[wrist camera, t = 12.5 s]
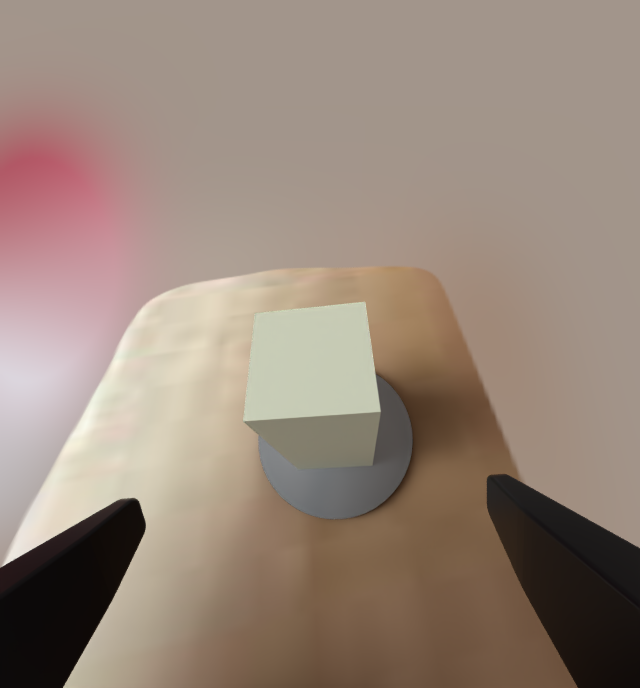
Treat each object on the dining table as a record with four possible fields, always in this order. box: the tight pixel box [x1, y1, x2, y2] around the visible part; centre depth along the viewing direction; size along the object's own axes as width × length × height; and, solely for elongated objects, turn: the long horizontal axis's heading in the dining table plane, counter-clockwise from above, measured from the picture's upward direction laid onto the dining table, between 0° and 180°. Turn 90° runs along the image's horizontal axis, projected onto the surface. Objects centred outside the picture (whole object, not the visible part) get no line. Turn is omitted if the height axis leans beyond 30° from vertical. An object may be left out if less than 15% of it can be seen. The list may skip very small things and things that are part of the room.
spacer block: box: [243, 302, 381, 470], centre depth 17 cm, size 5×5×11 cm
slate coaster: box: [259, 374, 413, 519], centre depth 21 cm, size 11×11×1 cm
